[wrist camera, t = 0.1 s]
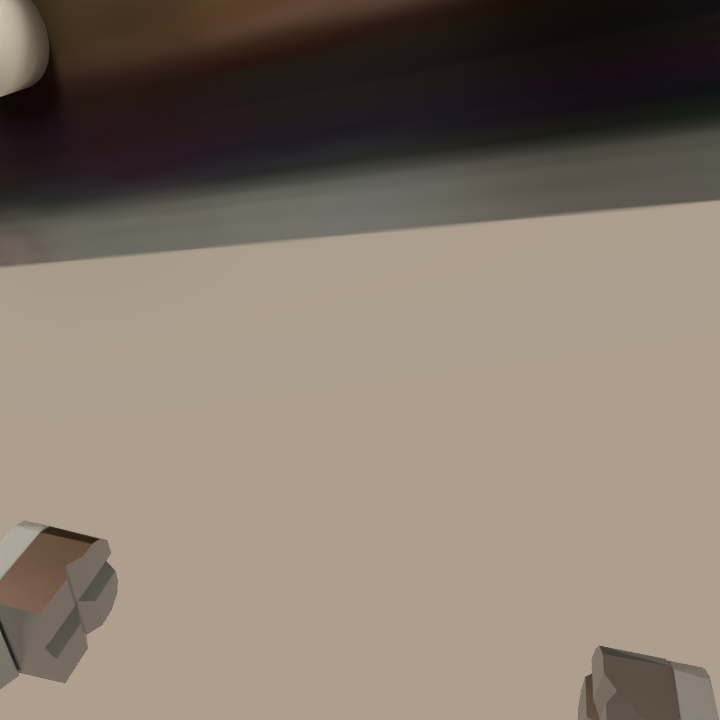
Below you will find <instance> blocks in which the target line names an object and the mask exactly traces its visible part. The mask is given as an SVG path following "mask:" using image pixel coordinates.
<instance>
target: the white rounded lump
mask: <svg viewBox="0 0 720 720" xmlns="http://www.w3.org/2000/svg"><path fill="white" fill-rule="evenodd" d="M48 61H49V40H48V35H47V31H46V27H45V25H44V22H43V20H42V17H41V15H40V13H39V11H38V10H37V8H36V6H35V5H34V3H33V2H32V1H31V0H0V97H1V96H4V95H7V94H10V93H13V92H16V91H19V90H22V89H25V88H28V87H31V86H32V85H34V84H36V83H37V82H38V81H39V80H40V79H41V77H42V76H43V74H44V73H45V71H46V68H47V65H48Z"/></svg>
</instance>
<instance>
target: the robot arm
mask: <svg viewBox="0 0 720 720" xmlns="http://www.w3.org/2000/svg"><path fill="white" fill-rule="evenodd" d="M110 554H111V551H110V548H109V545H108V542H107V540H104V539H100V538H96V537H92V536H88V535H84V534H80V533H75V532H71V531H67V530H63V529H59V528H54V527H51V526H46V525H42V524H38V523H33V522H28V521H23V522H21V523H19V524H17V525H16V526H14V527H13V528H12V529H11V530H10V531H9V532H8V534H7V535H6V536H5V537H4V538H3V539H2V541H0V689H1V688H3V687H4V686H5V685H7V684H8V683H10V682H11V681H12V680H14V679H15V678H16V677H18V676H19V674H18V673H23V674H27V675H32V676H36V677H40V678H45V679H50V680H54V681H58V682H63V683H66V681H67V680H68V678H69V676H70V675H71V673H72V672H73V670H74V669H75V667H76V665H77V663H78V662H79V661H80V659H81V658H82V656H83V655H84V653H85V651H86V650H87V648H88V645H87V634H88V633H90V632H92V631H93V630H95V629H96V628H98V627H100V626H101V625H103V623H104V621H105V620H106V618H107V616H108V615H109V613H110V611H111V609H112V606H113V603H114V601H115V598H116V595H117V584H118V580H117V575H116V572H115V570H114V569H113V568H112V567H111V566H110V565H109V564H108V563H107V561H106V560H107V559H108V557H109V556H110ZM578 720H719V718H718V713H717V709H716V704H715V699H714V694H713V689H712V685H711V680H710V676H709V674H708V673H707V671H706V670H705V669H704V668H701V667H696V666H691V665H687V664H681V663H676V662H672V661H667V660H666V659H663V658H658V657H653V656H648V655H643V654H638V653H633V652H628V651H622V650H618V649H613V648H608V647H603V646H598V647H597V648H596V649H595V652H594V655H593V657H592V674H590V675H588V676H586V677H585V680H584V683H583V686H582V689H581V695H580V701H579V707H578Z"/></svg>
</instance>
